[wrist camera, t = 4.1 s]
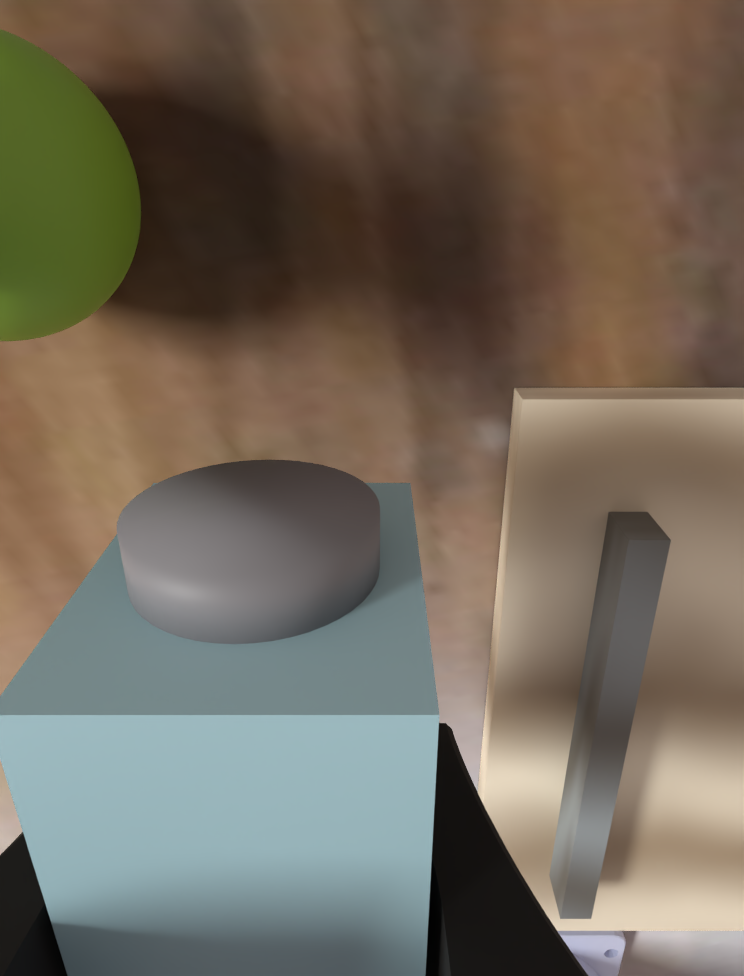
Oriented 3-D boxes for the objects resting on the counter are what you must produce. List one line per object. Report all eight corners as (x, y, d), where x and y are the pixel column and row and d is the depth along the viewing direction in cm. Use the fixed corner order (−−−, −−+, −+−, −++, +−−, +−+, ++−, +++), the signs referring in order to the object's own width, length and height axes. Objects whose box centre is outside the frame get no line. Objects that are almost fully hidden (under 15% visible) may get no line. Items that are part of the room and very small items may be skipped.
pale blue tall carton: (400, 871, 14) (413, 1195, 10) (211, 871, 14) (136, 1194, 10) (411, 434, 10) (442, 641, 6) (146, 434, 10) (-36, 641, 6)
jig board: (839, 903, 25) (885, 975, 23) (467, 903, 25) (477, 975, 23) (1069, 387, 17) (1176, 419, 15) (514, 387, 17) (536, 419, 15)
